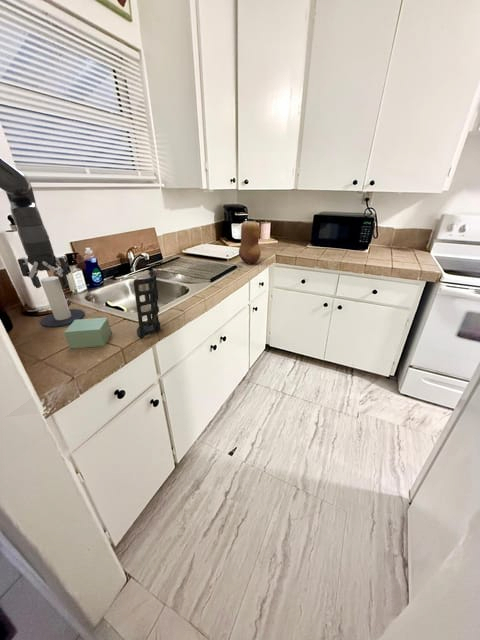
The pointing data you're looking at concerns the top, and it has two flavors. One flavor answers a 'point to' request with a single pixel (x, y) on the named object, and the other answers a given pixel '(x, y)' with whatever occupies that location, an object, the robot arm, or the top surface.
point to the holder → (153, 292)
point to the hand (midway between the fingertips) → (52, 286)
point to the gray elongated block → (56, 297)
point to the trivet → (52, 322)
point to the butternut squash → (250, 242)
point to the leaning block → (88, 333)
